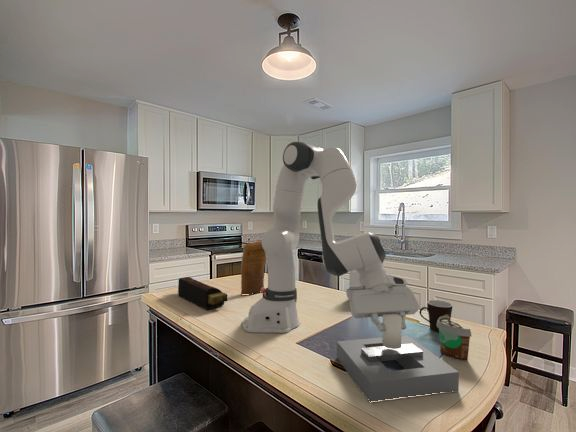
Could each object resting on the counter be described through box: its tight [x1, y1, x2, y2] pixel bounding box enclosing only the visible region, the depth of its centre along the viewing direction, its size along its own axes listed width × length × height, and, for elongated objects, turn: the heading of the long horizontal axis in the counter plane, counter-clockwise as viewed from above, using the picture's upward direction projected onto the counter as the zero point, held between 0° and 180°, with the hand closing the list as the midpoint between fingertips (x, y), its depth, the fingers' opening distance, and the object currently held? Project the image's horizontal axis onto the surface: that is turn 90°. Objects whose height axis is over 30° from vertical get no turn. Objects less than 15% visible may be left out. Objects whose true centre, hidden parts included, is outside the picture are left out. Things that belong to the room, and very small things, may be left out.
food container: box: [437, 316, 472, 361], centre depth 95 cm, size 12×6×10 cm, turn 5°
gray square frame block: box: [336, 335, 460, 403], centre depth 83 cm, size 24×22×5 cm
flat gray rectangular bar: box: [361, 344, 423, 362], centre depth 83 cm, size 16×5×2 cm, turn 101°
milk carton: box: [348, 270, 361, 303], centre depth 148 cm, size 7×7×19 cm
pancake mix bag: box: [240, 240, 267, 295], centre depth 161 cm, size 7×19×28 cm, turn 136°
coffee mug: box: [418, 299, 454, 333], centre depth 114 cm, size 12×9×10 cm
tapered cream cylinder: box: [381, 313, 403, 349], centre depth 83 cm, size 5×5×8 cm
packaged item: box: [177, 276, 228, 310], centre depth 147 cm, size 39×10×10 cm, turn 43°
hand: (393, 329), depth 82 cm, fingers closed on tapered cream cylinder, 5 cm apart
